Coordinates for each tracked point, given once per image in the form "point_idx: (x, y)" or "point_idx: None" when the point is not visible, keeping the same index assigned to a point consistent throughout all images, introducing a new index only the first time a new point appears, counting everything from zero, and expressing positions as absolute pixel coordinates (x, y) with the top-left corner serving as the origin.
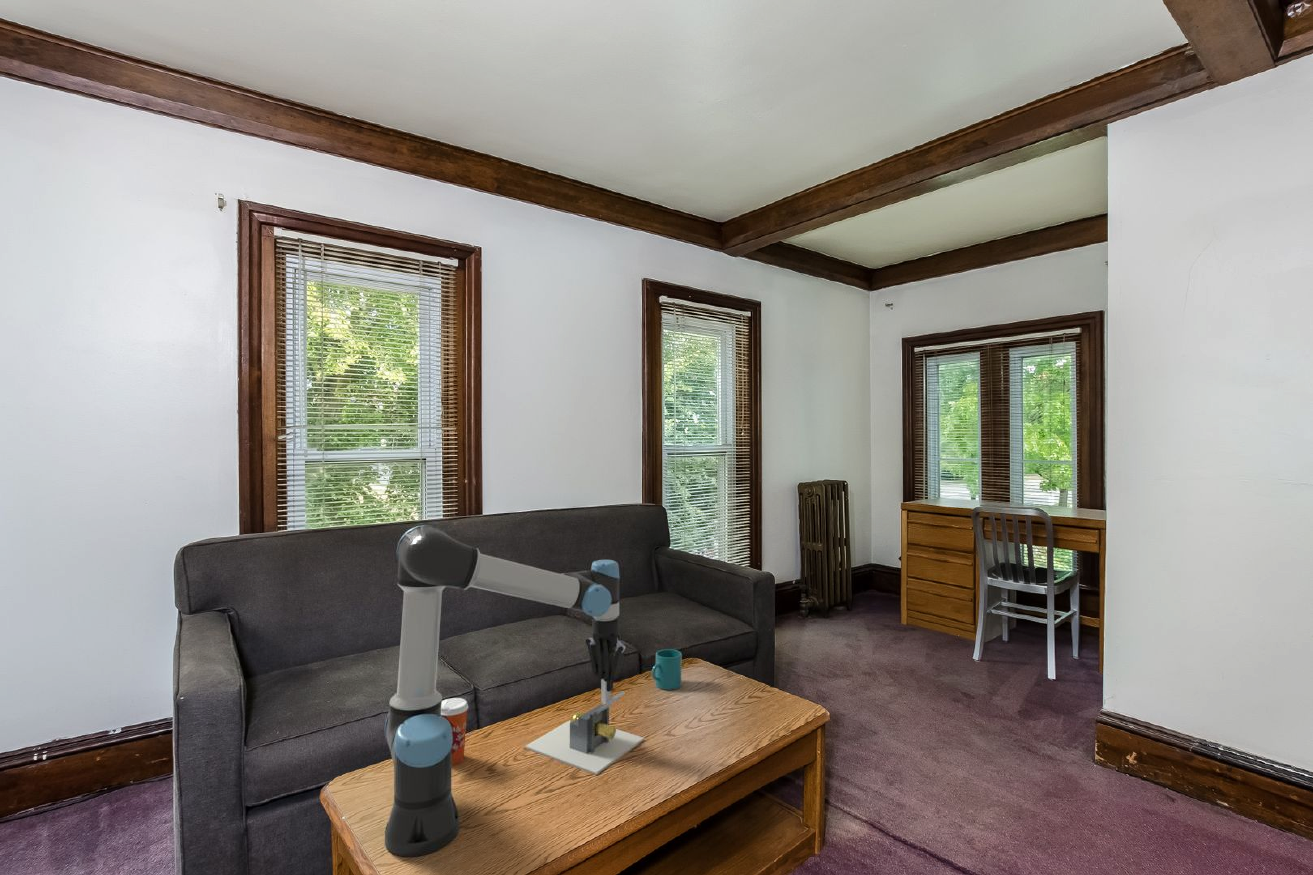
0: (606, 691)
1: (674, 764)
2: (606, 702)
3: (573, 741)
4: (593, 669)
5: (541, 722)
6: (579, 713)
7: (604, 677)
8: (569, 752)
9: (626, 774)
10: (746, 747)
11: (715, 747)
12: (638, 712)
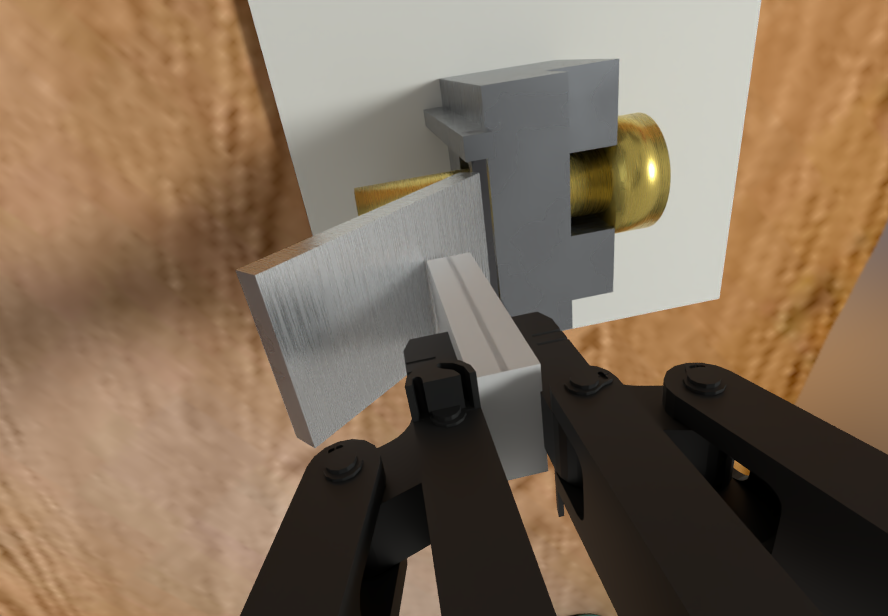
0: (447, 326)
1: (75, 324)
2: (353, 227)
3: (543, 64)
4: (764, 406)
5: (833, 159)
6: (637, 185)
7: (543, 425)
8: (522, 20)
9: (134, 91)
10: (26, 582)
11: (99, 514)
12: (531, 482)
